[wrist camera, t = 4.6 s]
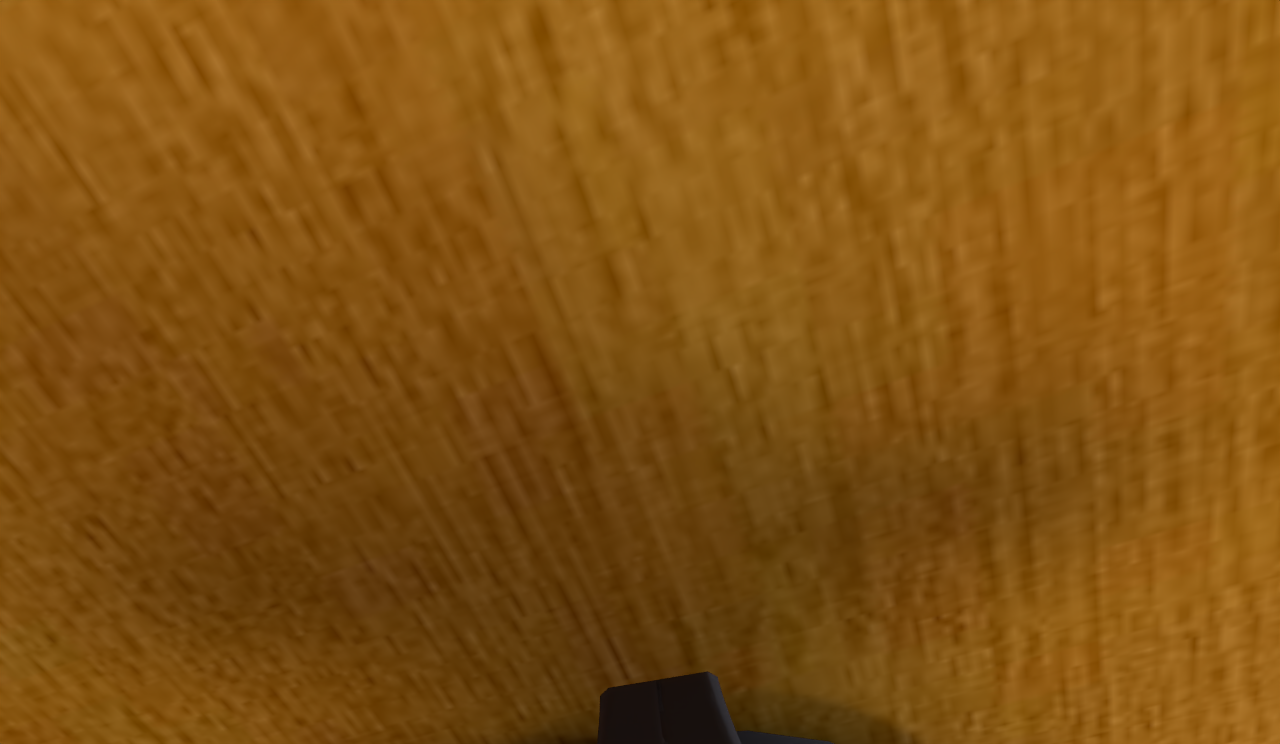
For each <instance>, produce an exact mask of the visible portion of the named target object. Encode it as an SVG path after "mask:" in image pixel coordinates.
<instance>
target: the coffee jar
mask: <svg viewBox="0 0 1280 744" xmlns="http://www.w3.org/2000/svg"><path fill="white" fill-rule="evenodd" d="M737 735H738V737H739V739H740V742H741V744H833V743H831V742H828V741H820V740H813V739H805V738H798V737H790V736H783V735H776V734H768V733H761V732H753V731H737Z"/></svg>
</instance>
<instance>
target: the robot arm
mask: <svg viewBox="0 0 1280 744" xmlns="http://www.w3.org/2000/svg"><path fill="white" fill-rule="evenodd" d="M597 744H741V742H740V739H739V737H738V735H737V732H736V730H735V727H734V725H733V722H732V720H731V717H730V715H729V712H728V709H727V706H726V703H725V701H724V698H723V695H722V692H721V688H720V685H719V681H718V677H717V676H715V675H713V674H711V673H709V672H702V673H696V674H690V675H684V676H678V677H672V678H666V679H660V680H654V681H648V682H642V683H636V684H630V685H624V686H618V687H612V688H608V689H607V690H606V691H605V692H604V693H603V694H602V695H601V696H600V717H599V730H598V740H597Z"/></svg>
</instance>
